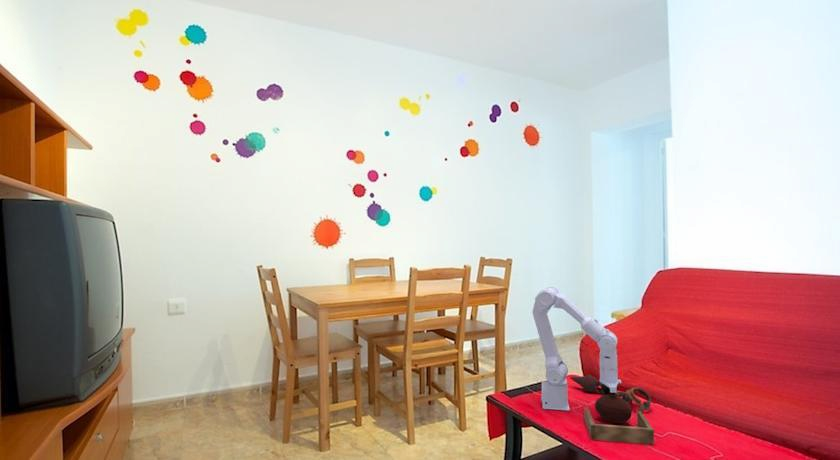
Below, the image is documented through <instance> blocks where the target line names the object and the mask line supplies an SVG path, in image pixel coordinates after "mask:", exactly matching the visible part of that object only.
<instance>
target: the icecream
mask: <svg viewBox="0 0 840 460" xmlns="http://www.w3.org/2000/svg"><path fill="white" fill-rule="evenodd" d="M569 379H571V380H572V381H573V382H574V383H576V384H578V385H579V386H580V387H582V388H583V390H584V392H588V393H589V392H590V393H593V392H594V393H595V392H596V391H597V392H598V393H600V394H601V395H604V394H603V391H602V388H601V386H600V384H602V383H601V382H600V380H598V379H597V378H596V377H594V376H593V375H590V374H586V375H584V376H570V378H569Z"/></svg>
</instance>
